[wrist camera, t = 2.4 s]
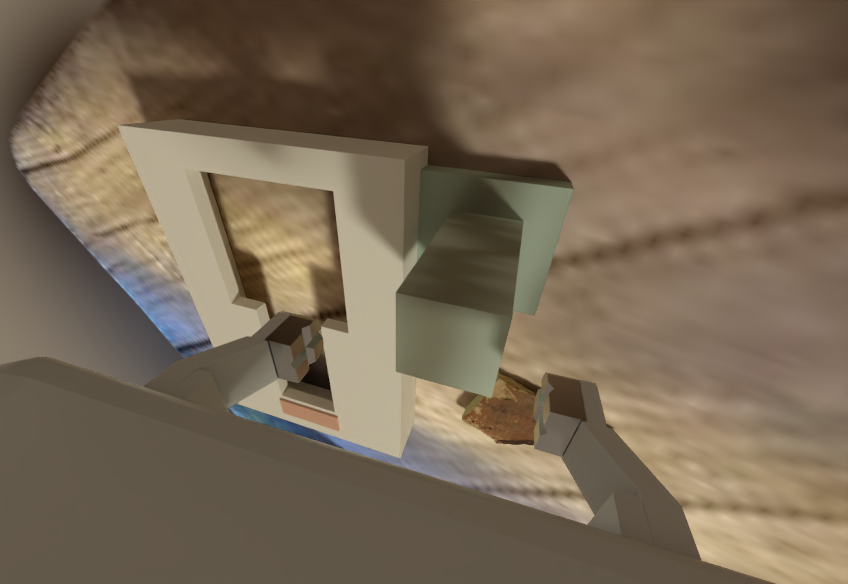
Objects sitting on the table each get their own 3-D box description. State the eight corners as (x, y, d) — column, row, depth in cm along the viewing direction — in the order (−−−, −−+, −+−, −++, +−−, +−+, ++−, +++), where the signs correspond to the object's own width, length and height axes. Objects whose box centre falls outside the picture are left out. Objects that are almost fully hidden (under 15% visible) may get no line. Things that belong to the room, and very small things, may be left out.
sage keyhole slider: (571, 181, 17) (600, 276, 9) (535, 302, 22) (531, 442, 13) (428, 164, 19) (338, 229, 10) (421, 279, 23) (355, 390, 15)
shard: (619, 428, 26) (624, 449, 24) (559, 464, 30) (560, 483, 29) (501, 363, 26) (499, 380, 24) (458, 409, 31) (454, 425, 29)
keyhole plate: (428, 146, 18) (403, 160, 15) (414, 421, 33) (399, 460, 29) (178, 119, 22) (113, 125, 19) (264, 376, 37) (236, 405, 33)
